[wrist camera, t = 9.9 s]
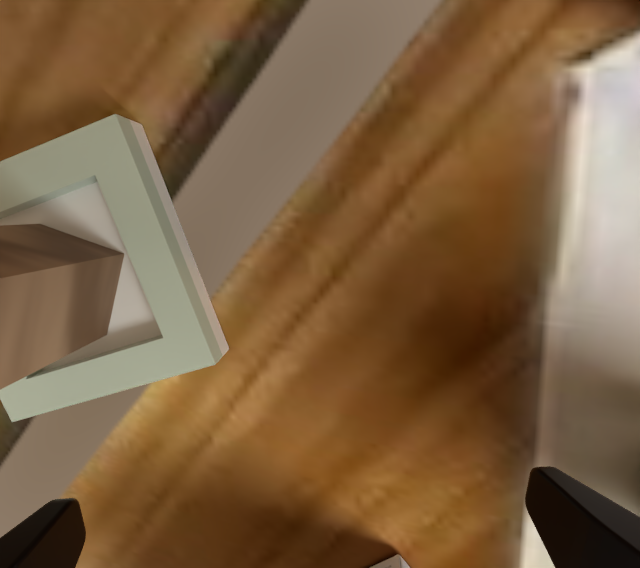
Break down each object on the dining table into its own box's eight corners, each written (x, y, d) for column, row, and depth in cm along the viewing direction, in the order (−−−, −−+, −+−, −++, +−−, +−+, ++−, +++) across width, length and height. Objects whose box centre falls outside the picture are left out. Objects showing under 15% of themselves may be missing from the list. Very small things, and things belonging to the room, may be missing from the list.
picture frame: (229, 348, 20) (215, 364, 18) (43, 402, 21) (12, 422, 19) (141, 124, 18) (115, 113, 16) (-56, 203, 19) (-102, 203, 17)
